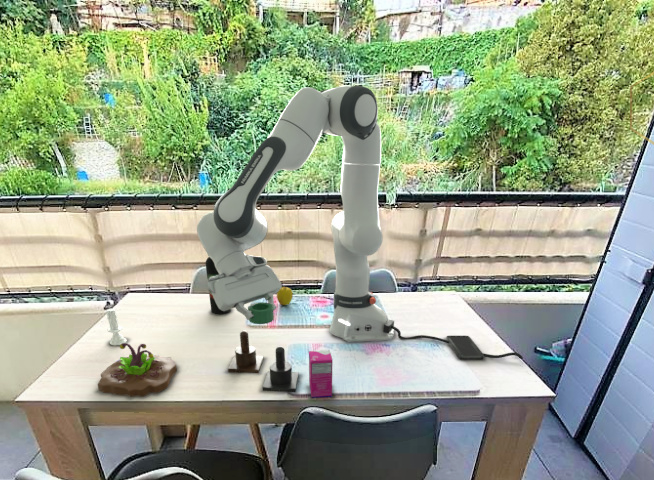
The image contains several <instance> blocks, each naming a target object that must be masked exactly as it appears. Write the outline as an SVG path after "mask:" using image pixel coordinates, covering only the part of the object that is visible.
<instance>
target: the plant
mask: <svg viewBox="0 0 654 480" xmlns="http://www.w3.org/2000/svg"><path fill="white" fill-rule="evenodd" d="M126 346H127V347H128V350H130V352H131V354H129V356H120V357H119V360H117V361H115V362H113V363H111V364H110V365H109V366H107V367H106V368H105V369H104V370H103V371H102V372H101V373H100V377H101V378H100V379H99V381H98V383H97V389H98V392H101V393H105V394H112V395H119V396H129V397H130V398H132V397H145V396H147V395H149V394H151V393H154V394H158V393H160V392H163V391H164V390H166V389H167V388H168V387H169V385H170V382H171V380H172V378H173V376H174V375H175V374H176V373H177V372H178V369H177V368H178V367H177V365H176V364H177V363H176V361H175V360H174V359H173V358H172V356H167V357H164V356H161V355H157V354H155V355H154V354H153V352H151V351H149V350H147V349H146V348H147V344H146V343H140V344H139V345H138V347H137V350H136V351H137V352H136V351H135V349H134V347H132V346H131V344H130V343H127V342H126V343H122V344H120V345H119V348H120V349H121V350H124V349H125V348H126ZM141 348H142V349H143V350H141ZM144 349H145V350H144Z"/></svg>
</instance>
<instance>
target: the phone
mask: <svg viewBox="0 0 654 480" xmlns="http://www.w3.org/2000/svg"><path fill="white" fill-rule="evenodd" d="M445 340H448V341H449V344H448V345H449V347H450V348H451V350H452V351H453V353H454V354H455V356H456V357H457V358H458V359H459V360H483V359H484V358H485V357H484V354H485V353H484V352H482V350H481V349H480V348H479V347H478V346H477V344H476V343H475V342H474V341H473V339H472V338H471V337H470V336H469V335H446V337H445ZM450 341H451V342H450ZM455 343H456V344H455ZM457 344H458V345H457ZM459 345H460V346H459ZM462 346H463V347H462ZM464 347H465V348H464ZM467 348H468V349H467ZM470 349H471V350H470ZM473 350H474V351H473ZM476 351H477V352H476ZM483 353H484V354H483Z"/></svg>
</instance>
